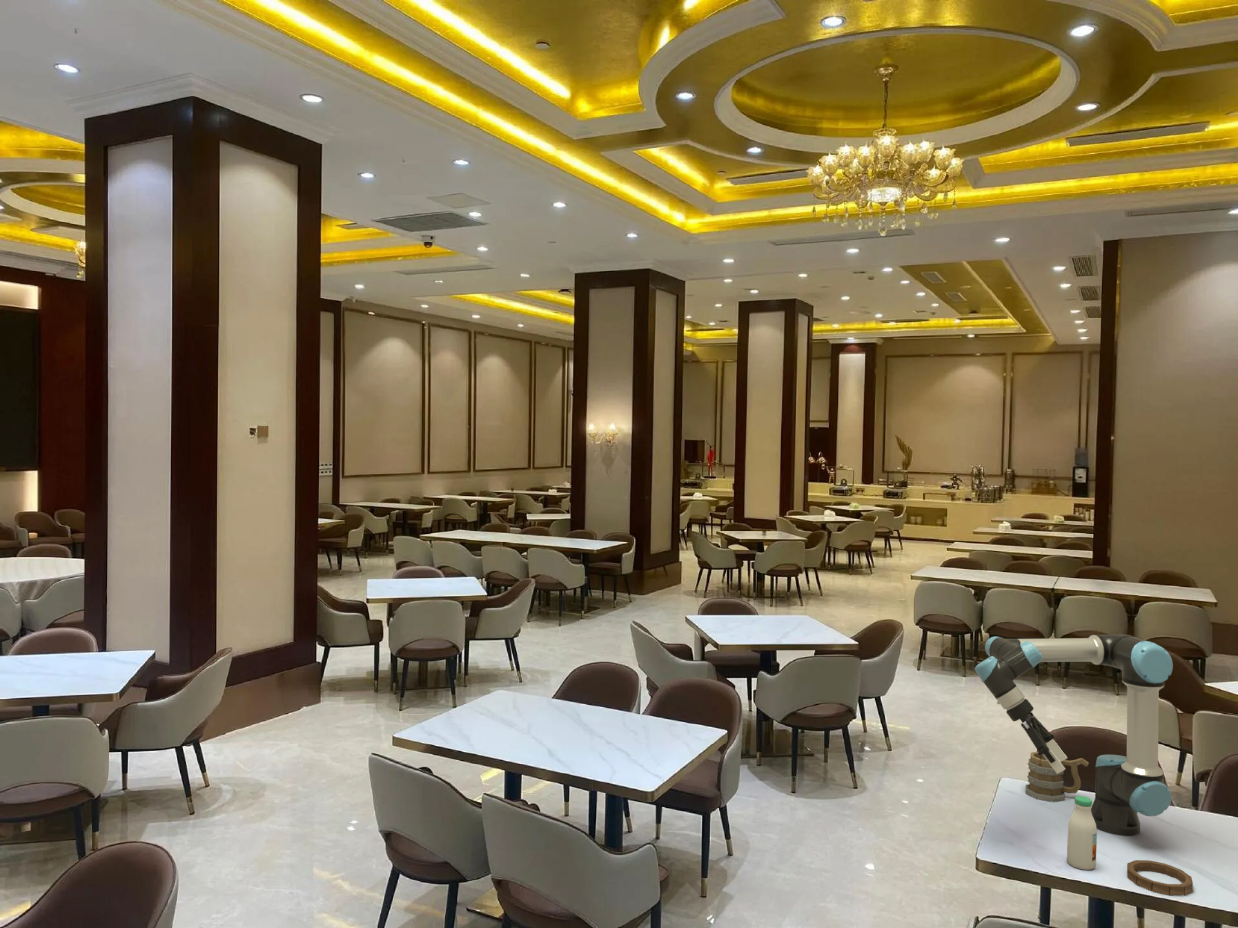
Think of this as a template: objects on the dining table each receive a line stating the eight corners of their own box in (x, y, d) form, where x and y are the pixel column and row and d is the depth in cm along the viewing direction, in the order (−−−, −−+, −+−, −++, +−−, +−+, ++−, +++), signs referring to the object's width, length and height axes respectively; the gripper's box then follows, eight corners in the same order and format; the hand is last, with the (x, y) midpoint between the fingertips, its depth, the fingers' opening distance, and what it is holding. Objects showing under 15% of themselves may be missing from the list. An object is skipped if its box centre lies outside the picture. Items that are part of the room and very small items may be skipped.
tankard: (1025, 797, 319) (1027, 755, 319) (1025, 785, 331) (1026, 745, 331) (1088, 808, 311) (1090, 765, 311) (1086, 795, 323) (1087, 754, 322)
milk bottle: (1086, 872, 262) (1088, 805, 262) (1061, 862, 269) (1063, 796, 268) (1101, 866, 266) (1103, 800, 266) (1076, 856, 273) (1078, 791, 272)
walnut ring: (1126, 863, 269) (1126, 855, 269) (1189, 876, 261) (1189, 868, 261) (1127, 885, 255) (1128, 877, 255) (1194, 900, 247) (1194, 891, 247)
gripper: (1009, 702, 289) (1053, 761, 282) (1000, 718, 267) (1049, 782, 260) (1029, 690, 286) (1074, 749, 279) (1022, 705, 265) (1071, 769, 258)
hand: (1062, 765), depth 270 cm, fingers open, 13 cm apart
